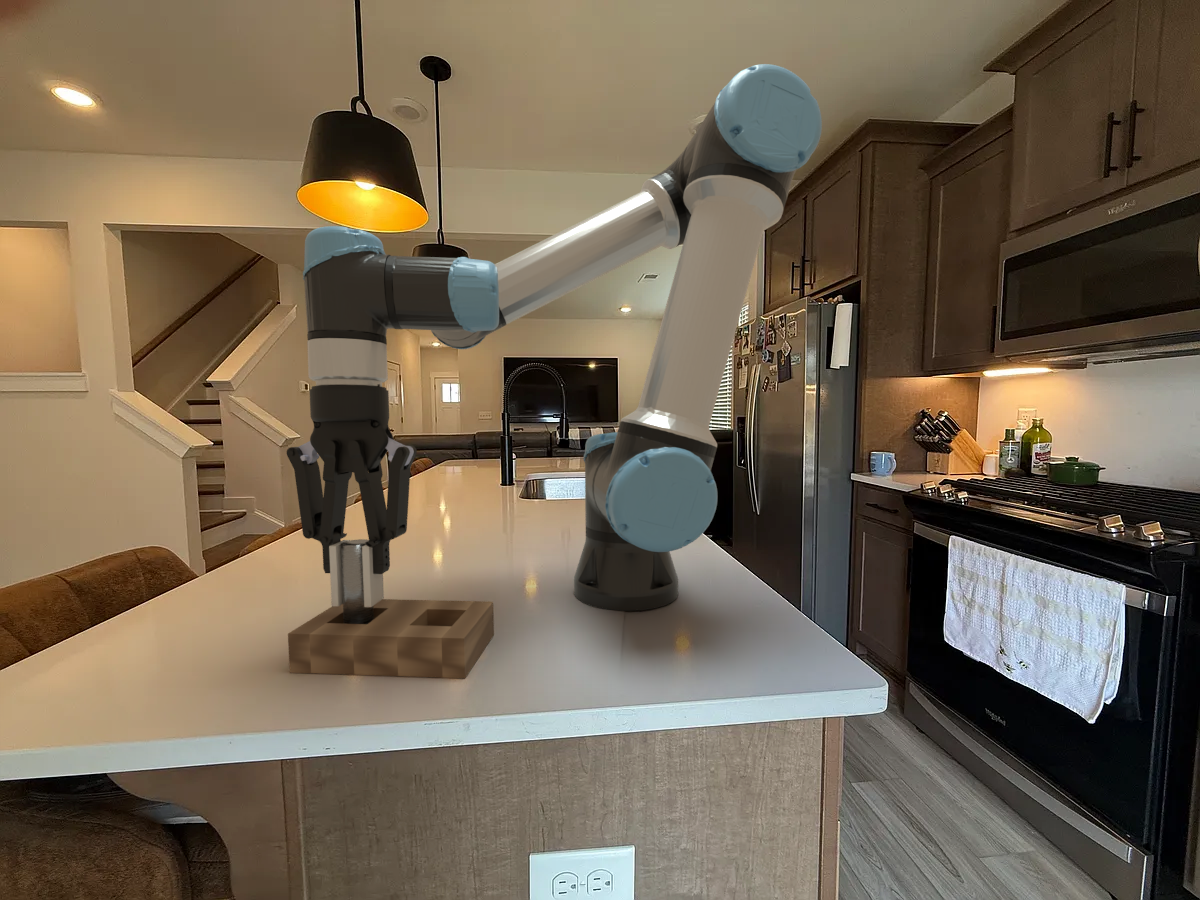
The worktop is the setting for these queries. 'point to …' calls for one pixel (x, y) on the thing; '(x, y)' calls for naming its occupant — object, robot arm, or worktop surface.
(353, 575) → the peg
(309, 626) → the socket block
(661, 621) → the worktop surface
